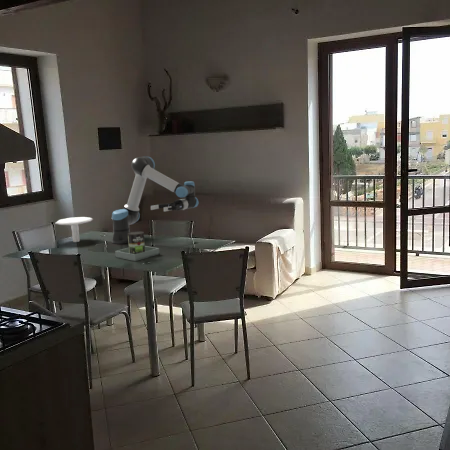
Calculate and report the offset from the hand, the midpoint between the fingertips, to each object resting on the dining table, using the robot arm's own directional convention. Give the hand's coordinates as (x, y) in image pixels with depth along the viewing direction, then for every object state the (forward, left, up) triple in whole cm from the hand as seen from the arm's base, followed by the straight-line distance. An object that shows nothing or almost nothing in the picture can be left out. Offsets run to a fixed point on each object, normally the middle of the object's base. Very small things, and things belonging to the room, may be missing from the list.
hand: (157, 208), depth 330 cm
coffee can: (+5, -24, -26) cm, 36 cm away
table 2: (-74, -20, -27) cm, 81 cm away
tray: (+5, -24, -27) cm, 37 cm away
